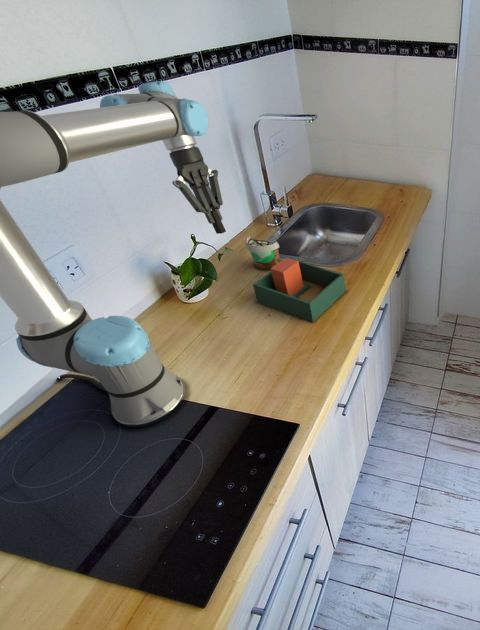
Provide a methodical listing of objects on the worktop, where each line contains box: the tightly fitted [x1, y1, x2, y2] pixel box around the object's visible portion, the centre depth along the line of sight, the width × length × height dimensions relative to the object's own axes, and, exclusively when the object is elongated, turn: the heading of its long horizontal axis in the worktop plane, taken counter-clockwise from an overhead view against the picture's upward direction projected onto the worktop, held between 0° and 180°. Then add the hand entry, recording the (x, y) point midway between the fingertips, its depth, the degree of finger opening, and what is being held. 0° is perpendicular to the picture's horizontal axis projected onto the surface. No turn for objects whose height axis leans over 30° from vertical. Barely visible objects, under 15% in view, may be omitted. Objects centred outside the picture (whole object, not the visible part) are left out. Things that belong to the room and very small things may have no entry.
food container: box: [245, 235, 281, 271], centre depth 141 cm, size 12×6×10 cm, turn 73°
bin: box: [252, 257, 347, 323], centre depth 128 cm, size 22×18×7 cm
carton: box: [270, 257, 305, 296], centre depth 129 cm, size 5×8×11 cm, turn 155°
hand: (221, 232), depth 117 cm, fingers closed
